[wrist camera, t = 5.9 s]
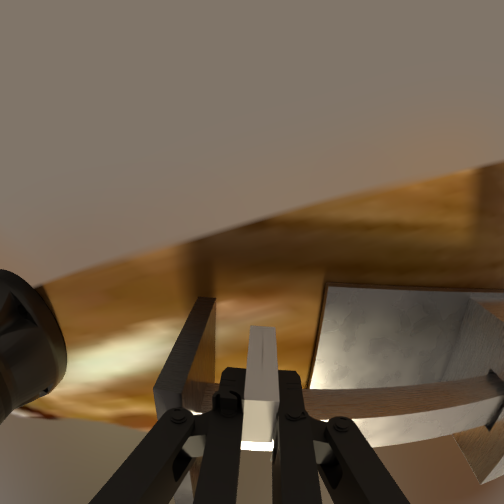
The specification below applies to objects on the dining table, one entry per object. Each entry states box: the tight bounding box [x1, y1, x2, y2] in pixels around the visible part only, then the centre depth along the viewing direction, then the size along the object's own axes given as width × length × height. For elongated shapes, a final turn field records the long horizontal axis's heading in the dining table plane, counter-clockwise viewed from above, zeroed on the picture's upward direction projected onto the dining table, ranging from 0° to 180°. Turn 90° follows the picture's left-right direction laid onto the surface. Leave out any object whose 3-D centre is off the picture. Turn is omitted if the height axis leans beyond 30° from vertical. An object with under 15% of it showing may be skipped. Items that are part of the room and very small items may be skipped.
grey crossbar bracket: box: [153, 297, 504, 504], centre depth 17 cm, size 27×12×10 cm, turn 86°
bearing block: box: [307, 282, 504, 484], centre depth 19 cm, size 26×13×13 cm, turn 86°
